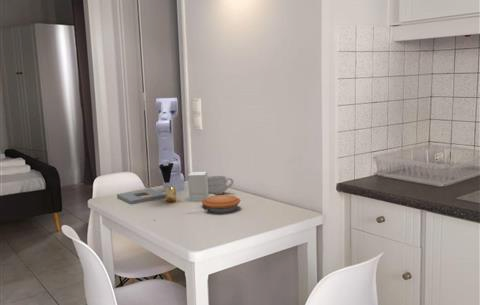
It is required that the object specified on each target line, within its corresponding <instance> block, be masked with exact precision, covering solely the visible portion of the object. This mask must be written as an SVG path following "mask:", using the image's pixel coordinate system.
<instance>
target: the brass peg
mask: <svg viewBox="0 0 480 305" xmlns="http://www.w3.org/2000/svg"><path fill="white" fill-rule="evenodd" d="M165 193H166V200H167V202H169V203H171V202H176V199H177V191H176V187H174V186H169V187H166V191H165Z"/></svg>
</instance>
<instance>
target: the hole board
mask: <svg viewBox="0 0 480 305" xmlns="http://www.w3.org/2000/svg"><path fill="white" fill-rule="evenodd" d="M116 197H117V198H116V199H117V200H122V201H124V202H125V203H127V204H130V205H136V204H141V203H146V202H147V203H148V202H152V201H153V202H154V201H157V200H163V199H167V197H166V194H165V193H163V192H161V191H157V190H155V189H153V188H147V189H140V190H135V191H128V192H121V193H116Z"/></svg>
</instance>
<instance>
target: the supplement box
mask: <svg viewBox="0 0 480 305" xmlns="http://www.w3.org/2000/svg"><path fill="white" fill-rule="evenodd" d="M207 177H208V171H190V173H189V174H188V175H187V183H188V184H187V185H188V199H189V202H202V201H203V200H204V199H206V198H207V197H210V196H209V193H208V178H207Z"/></svg>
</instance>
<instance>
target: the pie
mask: <svg viewBox="0 0 480 305" xmlns="http://www.w3.org/2000/svg"><path fill="white" fill-rule="evenodd" d="M240 202H241V199H240V198H239V197H237V196H235V195H231V194H220V195H212V196H211V195H210V196H209V197H207V198H206V199H204V200H203V201H201V204H202V205H203V206H204V208H206V210H207V211H208V212H210V213H215V214H225V213H231V212H234V211H235V210H236V209H237V207H238V205H239V204H240Z"/></svg>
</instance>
